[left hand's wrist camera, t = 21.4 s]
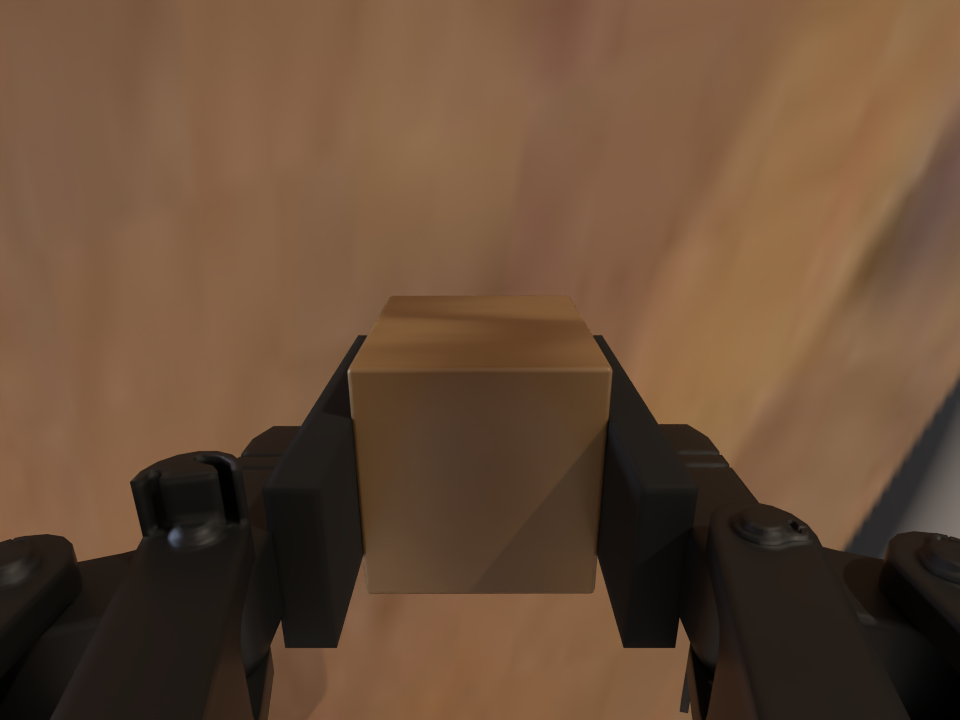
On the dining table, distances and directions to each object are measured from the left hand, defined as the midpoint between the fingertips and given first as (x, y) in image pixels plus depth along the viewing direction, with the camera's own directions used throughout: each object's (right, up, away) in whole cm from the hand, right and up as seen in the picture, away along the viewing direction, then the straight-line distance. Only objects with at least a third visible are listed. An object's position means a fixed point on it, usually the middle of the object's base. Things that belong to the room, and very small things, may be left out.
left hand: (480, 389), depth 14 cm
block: (0, 0, 0) cm, 0 cm away
